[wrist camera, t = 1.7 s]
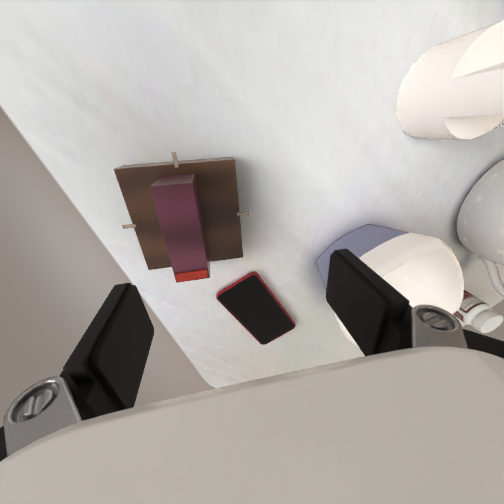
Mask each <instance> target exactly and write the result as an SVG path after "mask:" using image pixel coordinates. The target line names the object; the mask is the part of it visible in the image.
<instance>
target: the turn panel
mask: <svg viewBox="0 0 504 504" xmlns="http://www.w3.org/2000/svg"><path fill="white" fill-rule="evenodd" d="M172 157H173V161H174V162H162V163H149V164H137V165H124V166H120V167H118V168H115V169H114V171H115V174H116V177H117V180H118V183H119V185H120V188H121V191H122V194H123V197H124V200H125V203H126V206H127V209H128V211H129V214H130V217H131V220H132V223H133V224H130V225H122V227H123V229H125V228H134V229H135V232H136V235H137V237H138V240H139V243H140V246H141V249H142V252H143V255H144V258H145V261H146V263H147V266H148V269H149V270H152V269H159V268H166V267H172V265H171V261H170V257H169V254H168V250H167V247H166V243H165V240H164V236H163V232H162V229H161V225H160V222H159V218H158V215H157V211H156V207H155V204H154V200H153V197H152V193H151V190H150V186H151V185H152V184H153V183H154V182H155V181H156V180H157V179H158V178H159V177H160V176H166V175H178V174H189V173H195V174H196V180H197V185H198V191H199V197H200V203H201V208H202V214H203V220H204V226H205V231H206V237H207V243H208V248H209V254H210V262H211V261H218V260H225V259H233V258H240V257H243V249H242V237H241V226H240V216H241V215H249V211H248V212H239V203H238V192H237V180H236V169H235V159H234V158H233V157H225V158H213V159H200V160H187V161H177V157H176V152H172Z"/></svg>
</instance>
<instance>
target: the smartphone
mask: <svg viewBox="0 0 504 504" xmlns="http://www.w3.org/2000/svg"><path fill="white" fill-rule="evenodd" d="M217 300H218V301H219V302H220V303H221V304H222V305H223V306H224V307H225V308H226V309H227V310H228V311H229V312H230V313H231V314H232V315H233V316H234V317H235V318H236V319H237V320H238V321H239V322H240V323H241V324H242V325H243V326H244V327H245V328H246V329H247V330H248V331H249V332H250V333H251V334H252V335H253V336H254V337H255V339H256V340H257V341H258V342H259V343H260V344H267V343H269V342H271V341H273V340H274V339H276V338H278V337H280V336H282V335H283V334H285V333H287V332H289V331H290V330H292V329H294V328H295V323H294V321H293V320H292V319H291V317H290V316H289V315H288V313H287V312H286V311H285V310H284V308H283V307H282V306H281V304H280V303H279V302H278V300H277V299H276V298H275V296H274V295H273V294H272V292H271V291H270V290H269V289H268V287H267V286H266V285H265V283H264V282H263V281H262V279H261V278H260V277H259V275H258V274H257V273H254V272H252V273H249V274H248V275H246V276H245V277H243V278H241V279H240V280H238V281H236V282H235V283H233V284H231V285H230V286H228V287H227V288H225V289H223V290H222V291H220V292H219V293H218V294H217Z"/></svg>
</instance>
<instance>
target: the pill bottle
mask: <svg viewBox="0 0 504 504" xmlns="http://www.w3.org/2000/svg"><path fill="white" fill-rule="evenodd" d="M453 315H455V316H456V317H458V318H459V319H460V320H462V321H463V322H464V323H466V324H468V325H472V326H473V327H475V328H476V329H477V330H479V331H480V332H482V333H488V332H490V331H493V330H494V329H495V328H497V327H498V326H499V325H500V324H501V323H502V321H503V317H502V316H501V315H500V314H498V313H496V312H495V311H493V310H491V307H490V306H489V305H488V304H486V303H485V302H483V301H481V300H480V299H478V298H476V297H475V296H473V295H472V294H470V293H468V292H467V291H465V290H464V293H463V300H462V303H461V306H460V308H459V309H458V310H457V311H456V312H455V313H454V314H453Z"/></svg>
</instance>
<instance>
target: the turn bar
mask: <svg viewBox="0 0 504 504" xmlns="http://www.w3.org/2000/svg"><path fill="white" fill-rule="evenodd" d="M150 190H151V193H152V197H153V200H154V204H155V207H156V211H157V215H158V218H159V222H160V225H161V229H162V232H163V236H164V240H165V243H166V247H167V250H168V254H169V257H170V261H171V265H172V268H173V272H174V275H175V279H176V282H184V281H191V280H198V279H205V278H210V254H209V248H208V243H207V237H206V231H205V226H204V220H203V214H202V208H201V203H200V197H199V191H198V185H197V180H196V174H195V173H189V174H178V175H166V176H160V177H159V178H158V179H157V180H156V181H155V182H154V183H153V184H152V185H151V186H150Z"/></svg>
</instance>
